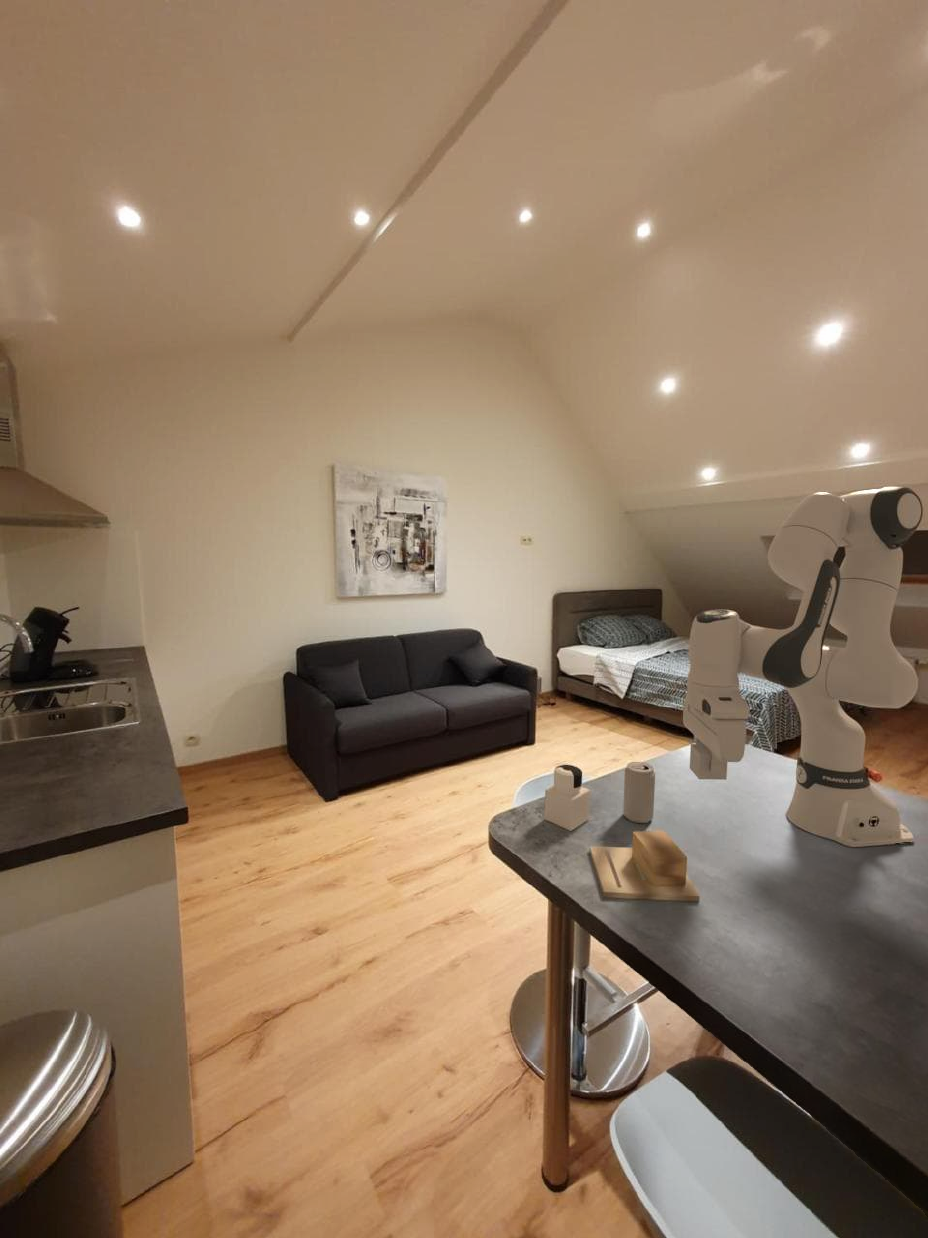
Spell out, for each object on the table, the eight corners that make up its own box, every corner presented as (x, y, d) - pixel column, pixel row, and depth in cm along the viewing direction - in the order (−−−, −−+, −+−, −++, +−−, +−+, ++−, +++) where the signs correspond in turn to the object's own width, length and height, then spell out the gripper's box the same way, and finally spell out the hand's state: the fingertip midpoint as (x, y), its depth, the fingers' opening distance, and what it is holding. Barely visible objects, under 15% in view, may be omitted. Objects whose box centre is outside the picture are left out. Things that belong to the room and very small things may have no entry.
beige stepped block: (562, 808, 121) (564, 759, 120) (589, 820, 116) (591, 768, 115) (543, 819, 116) (545, 768, 115) (571, 832, 111) (572, 778, 110)
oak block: (662, 854, 101) (663, 830, 101) (685, 884, 92) (687, 857, 92) (631, 856, 101) (633, 831, 100) (652, 886, 92) (654, 859, 91)
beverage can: (655, 826, 114) (657, 773, 112) (624, 823, 115) (626, 771, 113) (650, 812, 120) (653, 761, 118) (621, 809, 121) (623, 759, 119)
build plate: (672, 854, 103) (672, 849, 103) (699, 901, 89) (699, 895, 89) (589, 851, 104) (589, 846, 104) (603, 897, 90) (604, 891, 90)
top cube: (715, 768, 104) (716, 744, 103) (726, 779, 99) (727, 754, 99) (689, 768, 104) (690, 744, 104) (699, 779, 100) (700, 754, 99)
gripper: (676, 681, 110) (673, 744, 112) (716, 712, 90) (712, 789, 92) (707, 681, 110) (704, 744, 112) (754, 712, 89) (749, 789, 91)
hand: (708, 765), depth 102 cm, fingers closed on top cube, 5 cm apart
